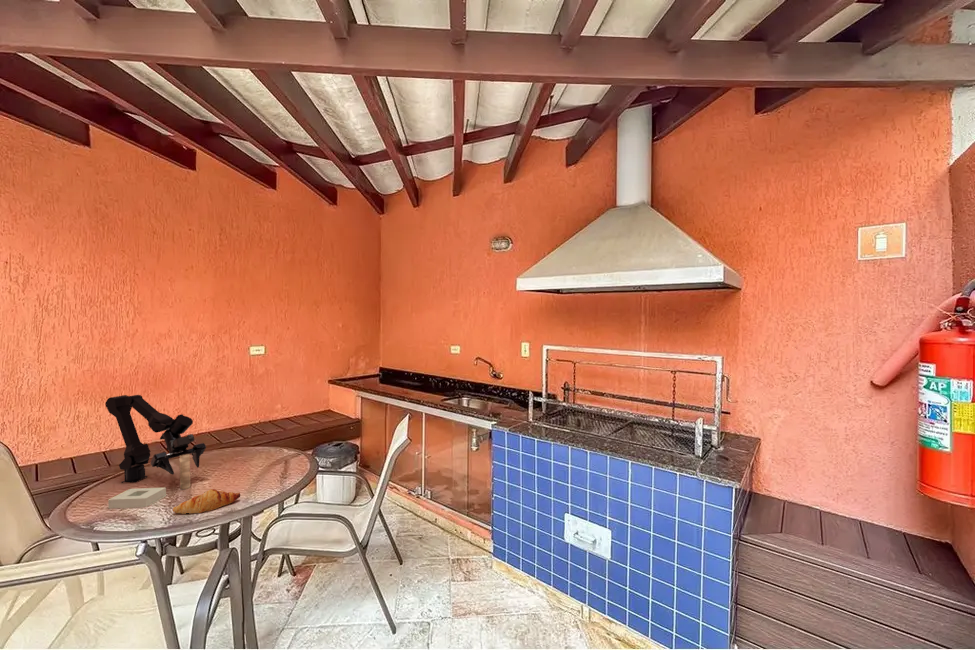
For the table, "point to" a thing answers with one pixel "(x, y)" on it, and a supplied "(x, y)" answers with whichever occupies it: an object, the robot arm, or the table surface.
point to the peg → (185, 471)
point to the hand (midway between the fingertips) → (186, 470)
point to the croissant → (206, 502)
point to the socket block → (137, 498)
